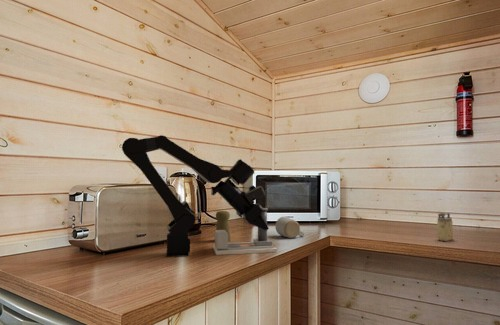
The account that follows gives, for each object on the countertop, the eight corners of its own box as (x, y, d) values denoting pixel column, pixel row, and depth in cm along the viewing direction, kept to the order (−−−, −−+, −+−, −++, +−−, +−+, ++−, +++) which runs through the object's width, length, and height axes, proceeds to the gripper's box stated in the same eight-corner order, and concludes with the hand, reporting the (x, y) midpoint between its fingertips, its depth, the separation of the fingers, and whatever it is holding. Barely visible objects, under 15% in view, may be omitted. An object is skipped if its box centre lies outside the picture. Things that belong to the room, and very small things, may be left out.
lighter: (445, 238, 128) (444, 212, 128) (455, 239, 125) (455, 212, 125) (435, 240, 124) (435, 213, 124) (446, 241, 121) (445, 214, 121)
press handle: (256, 247, 105) (256, 209, 106) (253, 243, 111) (253, 207, 111) (272, 246, 106) (271, 209, 107) (267, 243, 112) (267, 207, 112)
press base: (216, 254, 101) (216, 234, 101) (213, 247, 110) (213, 229, 111) (276, 252, 104) (276, 232, 105) (268, 245, 114) (268, 228, 114)
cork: (228, 242, 119) (228, 211, 120) (212, 242, 121) (212, 211, 121) (232, 239, 125) (232, 210, 126) (217, 239, 127) (217, 210, 127)
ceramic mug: (284, 239, 125) (285, 219, 126) (274, 236, 133) (275, 216, 133) (308, 238, 129) (308, 218, 130) (297, 234, 137) (298, 215, 137)
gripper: (256, 177, 100) (292, 213, 101) (245, 177, 118) (275, 208, 120) (230, 204, 98) (267, 240, 99) (223, 200, 116) (254, 231, 118)
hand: (266, 228), depth 109 cm, fingers closed on press handle, 3 cm apart
